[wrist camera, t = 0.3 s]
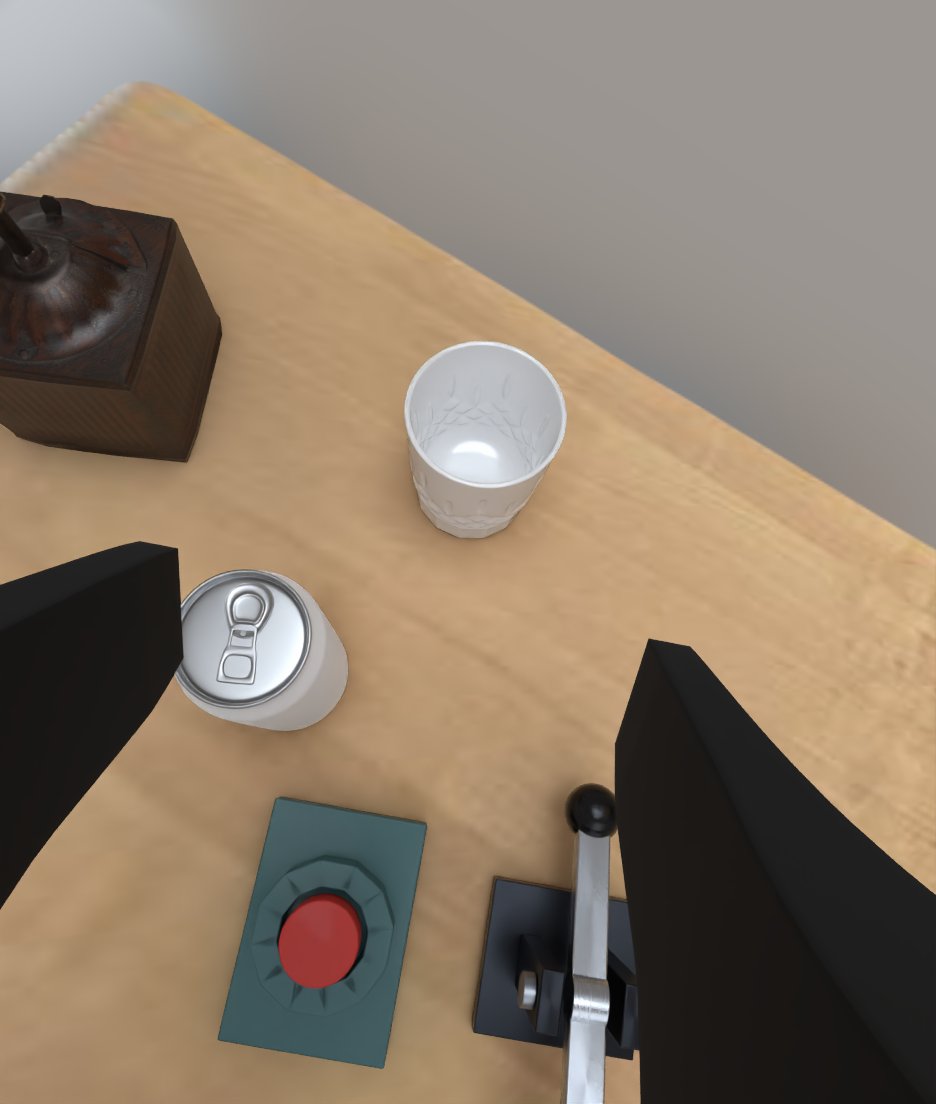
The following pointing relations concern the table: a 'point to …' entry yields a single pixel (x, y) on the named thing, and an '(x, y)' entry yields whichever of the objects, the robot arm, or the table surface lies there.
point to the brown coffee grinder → (101, 329)
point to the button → (320, 941)
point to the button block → (384, 911)
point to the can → (260, 652)
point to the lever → (587, 946)
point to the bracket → (547, 968)
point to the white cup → (481, 434)
